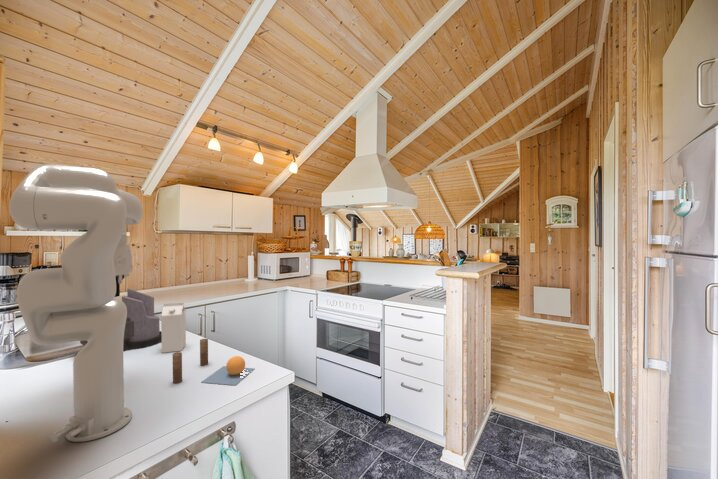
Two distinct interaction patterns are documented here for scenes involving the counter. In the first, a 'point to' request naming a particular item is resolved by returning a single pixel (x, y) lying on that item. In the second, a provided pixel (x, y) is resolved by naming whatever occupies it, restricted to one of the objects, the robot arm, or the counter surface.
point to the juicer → (139, 322)
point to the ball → (235, 365)
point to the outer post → (203, 352)
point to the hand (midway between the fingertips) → (113, 296)
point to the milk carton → (173, 327)
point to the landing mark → (225, 377)
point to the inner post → (177, 367)
